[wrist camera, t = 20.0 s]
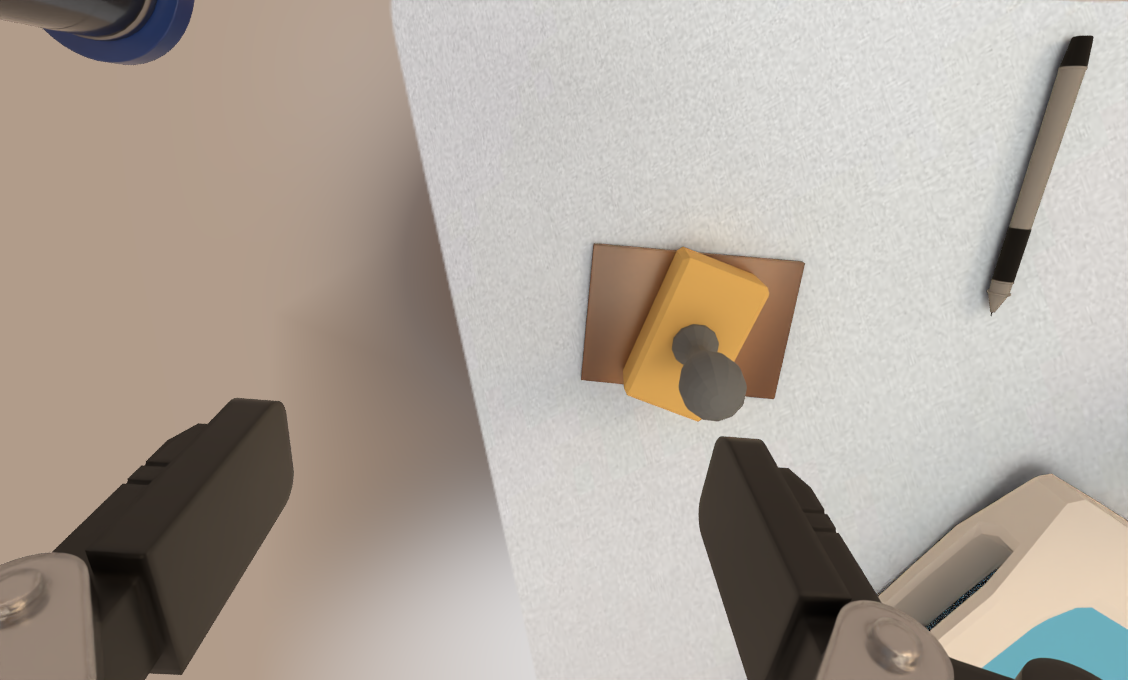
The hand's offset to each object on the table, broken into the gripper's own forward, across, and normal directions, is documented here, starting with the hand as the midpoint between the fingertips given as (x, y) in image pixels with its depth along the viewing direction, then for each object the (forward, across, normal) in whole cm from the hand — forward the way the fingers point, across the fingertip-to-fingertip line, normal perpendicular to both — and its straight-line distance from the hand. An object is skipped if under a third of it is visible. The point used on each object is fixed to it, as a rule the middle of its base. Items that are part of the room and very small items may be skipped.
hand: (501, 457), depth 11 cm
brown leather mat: (+27, -11, +8) cm, 31 cm away
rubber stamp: (+27, -11, +8) cm, 30 cm away
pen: (+27, -30, -3) cm, 40 cm away
